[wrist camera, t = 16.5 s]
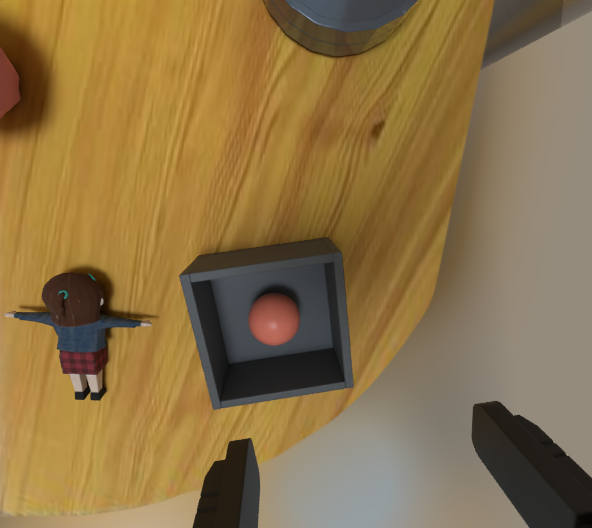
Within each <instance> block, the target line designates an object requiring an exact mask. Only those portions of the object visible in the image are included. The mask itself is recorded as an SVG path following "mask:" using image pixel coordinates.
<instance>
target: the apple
mask: <svg viewBox="0 0 592 528" xmlns="http://www.w3.org/2000/svg"><path fill="white" fill-rule="evenodd" d="M20 100H21V98H20V92H19V76H18V74H17V72H16V70H15V68H14V66H13V65H12V64H11V62H10V61H9V60H8V58H7V56H6V55H5V53H4V52H3V50H2V49H1V47H0V119H1V118H2V117H3V115H4V114H5V113H6V112H7V111H9V110H10V109H11V108H12V107H13V106H14V105H15V104H16V103H18V102H19V101H20Z"/></svg>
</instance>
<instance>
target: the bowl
mask: <svg viewBox="0 0 592 528" xmlns="http://www.w3.org/2000/svg"><path fill="white" fill-rule="evenodd" d="M419 1H420V0H264V2H265V4H266V7H267V9H268V11H269V13H270V14H271V15H272V17H273V18H274V19H275V20H276V22H277V23H278V24H279V25H280V27H281V28H282V29H283V31H284V32H285V33H286V34H287V35H288V36H290V37H291V38H293V39H294V40H296V41H297V42H298V43H300V44H301V45H303V46H304V47H306V48H307V49H309V50H311V51H315V52H319V53H323V54H327V55H331V56H343V55H351V54H359V53H362V52H363V51H365V50H367V49H369V48H371V47H373V46H375V45H377V44H379V43H381V42H383V41H384V40H385V39H386V38H387V37H388V36H389V35H390V34H391V33H392V32H393V31H394V30H395V29H396V28H397V27H398V26H399V25H400V24H401V23H402V22H403V20H404V19H405V18H406V17H407V15H408V14H409V13H410V12H411V11H412V9H413V8H414V7H415V6H416V4H417V3H418V2H419Z"/></svg>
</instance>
